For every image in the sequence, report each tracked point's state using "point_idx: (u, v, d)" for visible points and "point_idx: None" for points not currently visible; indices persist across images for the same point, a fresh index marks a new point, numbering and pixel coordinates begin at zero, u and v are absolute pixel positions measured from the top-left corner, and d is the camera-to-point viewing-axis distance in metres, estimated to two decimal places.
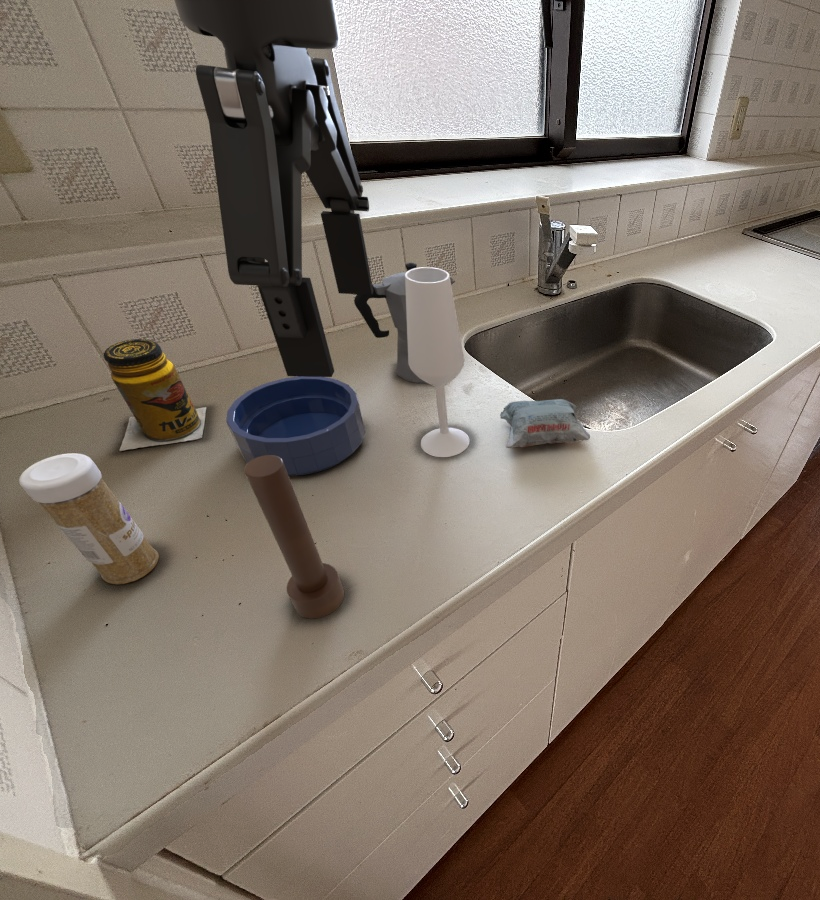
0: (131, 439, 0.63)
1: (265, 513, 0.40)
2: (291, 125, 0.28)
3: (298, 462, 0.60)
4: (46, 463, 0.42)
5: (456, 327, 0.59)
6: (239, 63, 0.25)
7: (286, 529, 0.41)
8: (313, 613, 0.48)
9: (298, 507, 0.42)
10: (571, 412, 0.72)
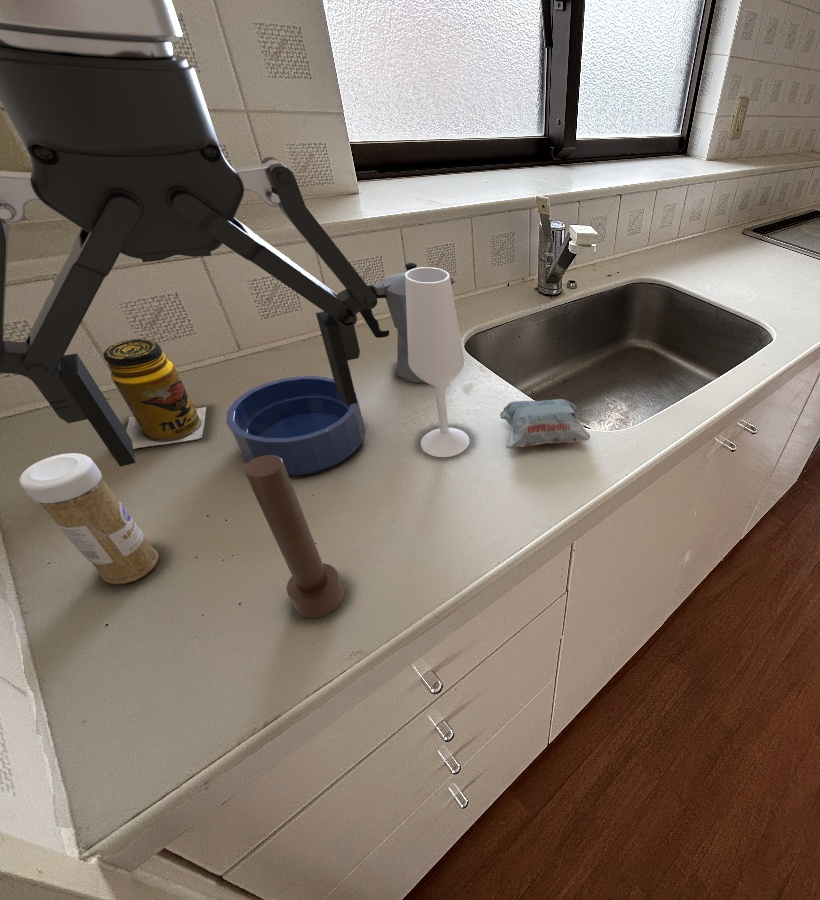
0: (131, 439, 0.63)
1: (265, 513, 0.40)
2: None
3: (298, 462, 0.60)
4: (46, 463, 0.42)
5: (456, 327, 0.59)
6: None
7: (286, 529, 0.41)
8: (313, 613, 0.48)
9: (298, 507, 0.42)
10: (571, 412, 0.72)
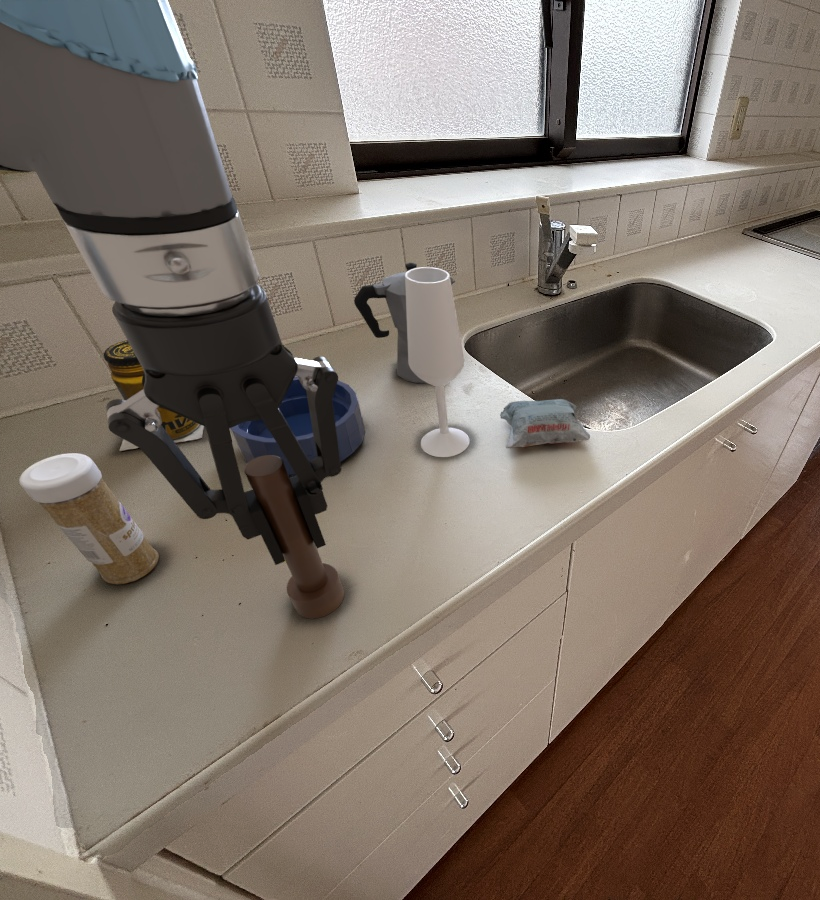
0: None
1: (265, 513, 0.40)
2: None
3: None
4: (46, 463, 0.42)
5: (456, 327, 0.59)
6: None
7: (286, 529, 0.41)
8: (313, 613, 0.48)
9: (298, 507, 0.42)
10: (571, 412, 0.72)
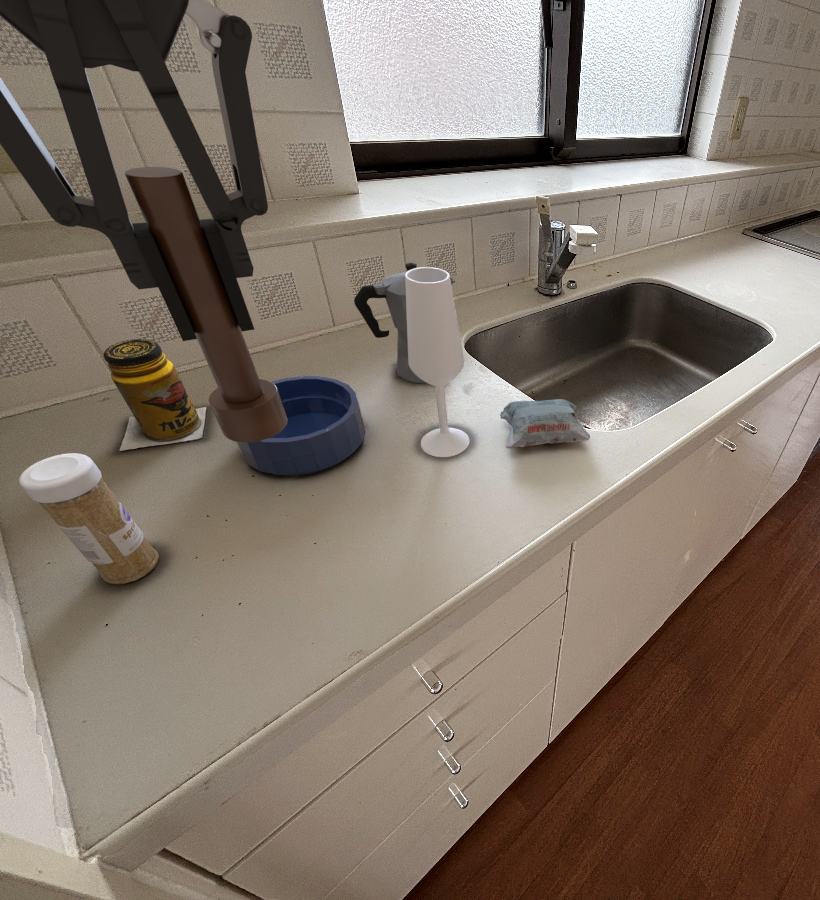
0: (131, 439, 0.63)
1: (162, 253, 0.30)
2: None
3: (298, 462, 0.60)
4: (46, 463, 0.42)
5: (456, 327, 0.59)
6: None
7: (193, 284, 0.31)
8: (244, 434, 0.37)
9: (211, 258, 0.31)
10: (571, 412, 0.72)
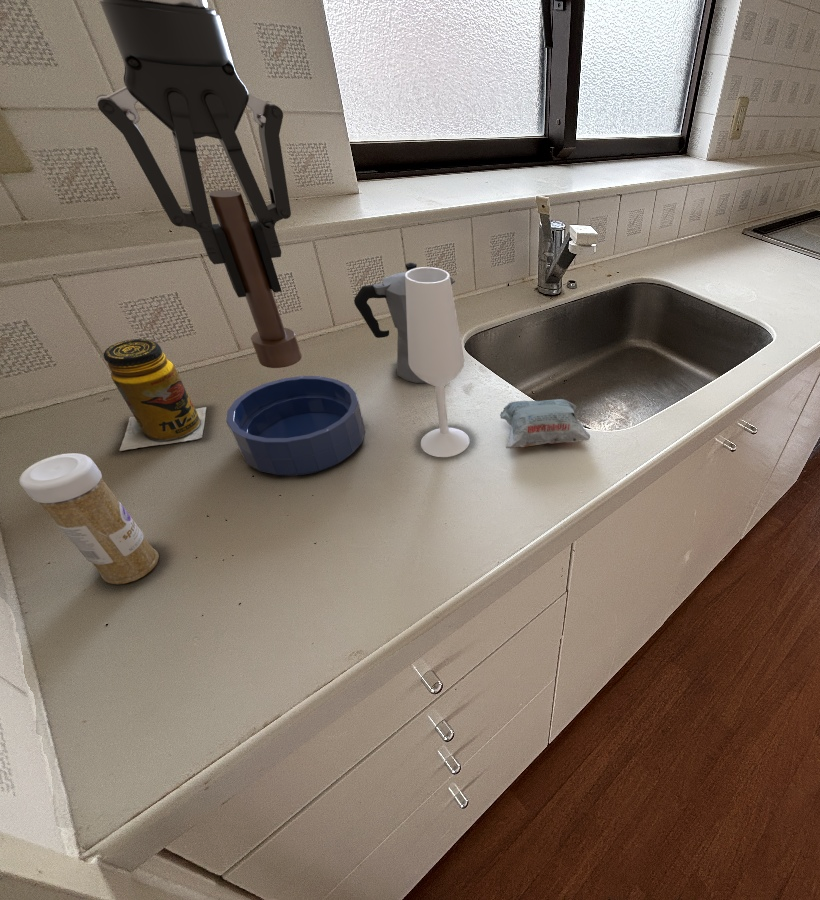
0: (131, 439, 0.63)
1: (228, 242, 0.49)
2: None
3: (298, 462, 0.60)
4: (46, 463, 0.42)
5: (456, 327, 0.59)
6: None
7: (246, 261, 0.50)
8: (274, 361, 0.57)
9: (256, 245, 0.51)
10: (571, 412, 0.72)
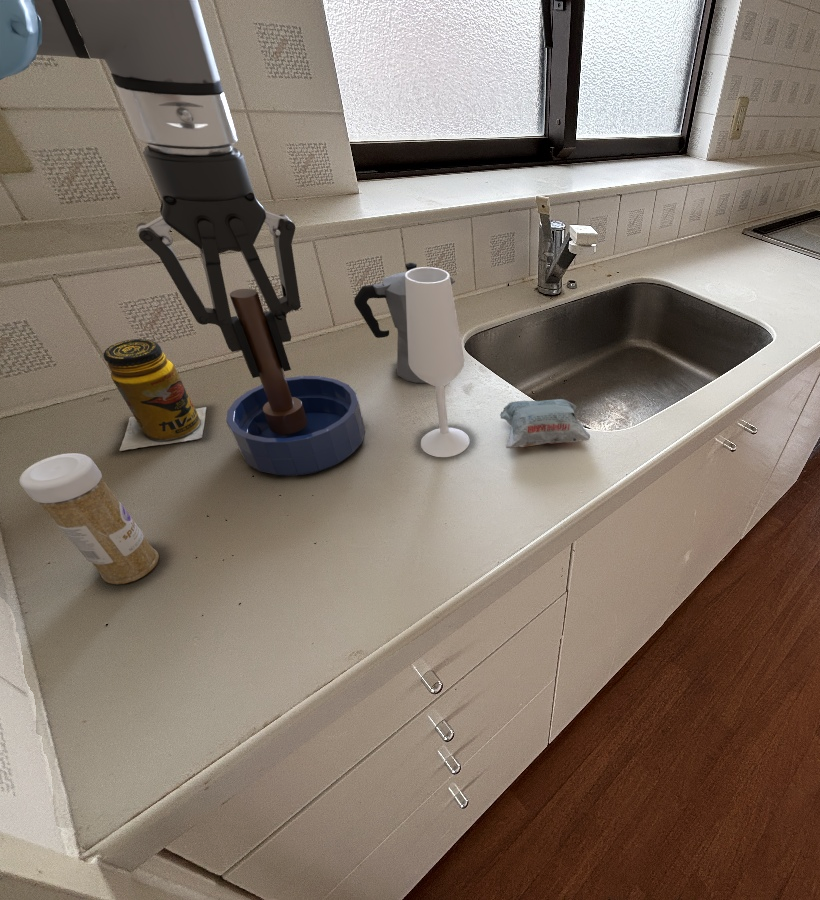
0: (131, 439, 0.63)
1: (245, 332, 0.56)
2: None
3: (298, 462, 0.60)
4: (46, 463, 0.42)
5: (456, 327, 0.59)
6: None
7: (260, 348, 0.57)
8: (283, 429, 0.63)
9: (269, 333, 0.57)
10: (571, 412, 0.72)
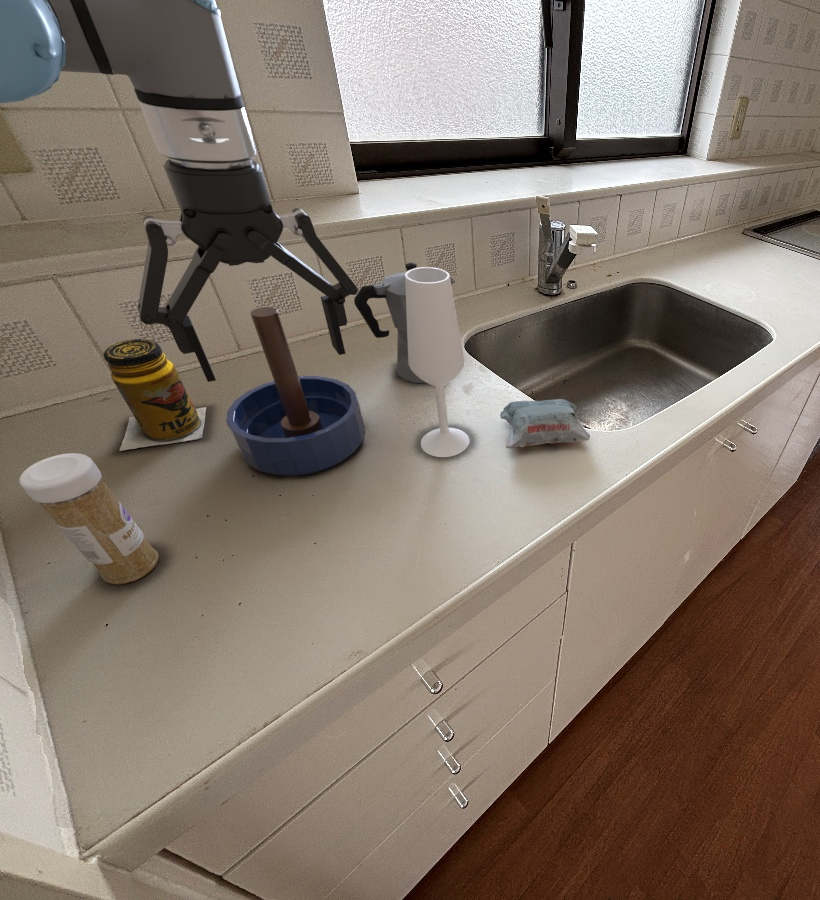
0: (131, 439, 0.63)
1: (265, 350, 0.57)
2: None
3: (298, 462, 0.60)
4: (46, 463, 0.42)
5: (456, 327, 0.59)
6: None
7: (280, 364, 0.58)
8: None
9: (288, 350, 0.58)
10: (571, 412, 0.72)
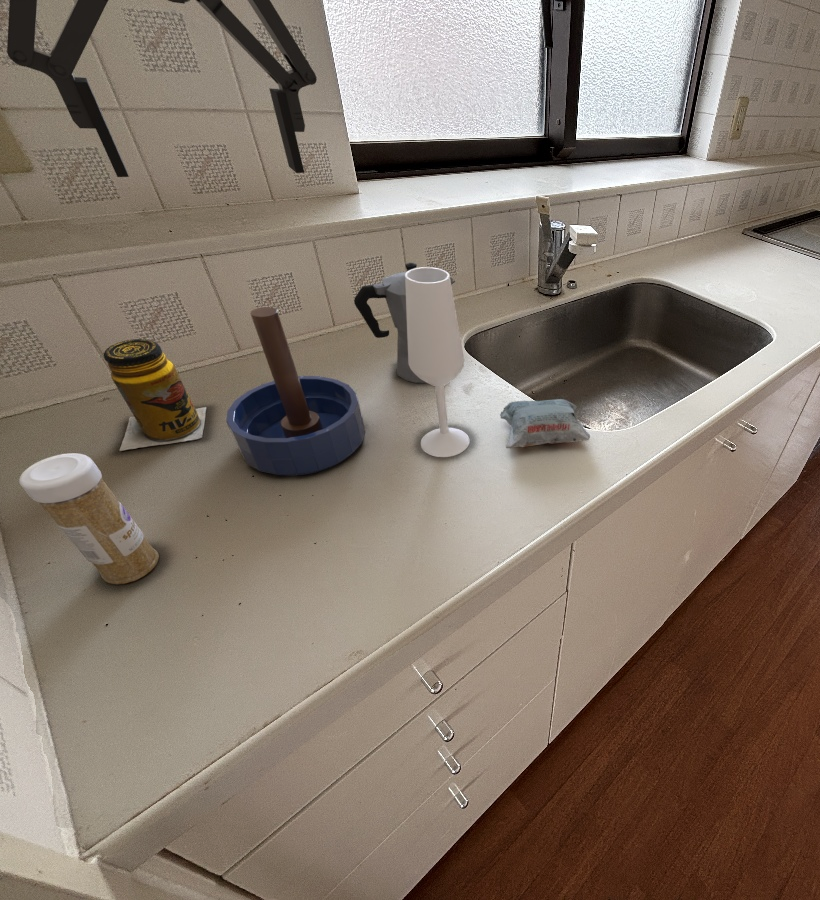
0: (131, 439, 0.63)
1: (265, 350, 0.57)
2: None
3: (298, 462, 0.60)
4: (46, 463, 0.42)
5: (456, 327, 0.59)
6: None
7: (280, 364, 0.58)
8: None
9: (288, 350, 0.58)
10: (571, 412, 0.72)
